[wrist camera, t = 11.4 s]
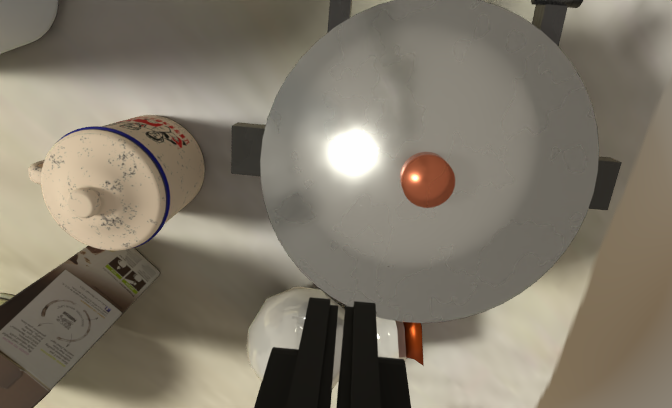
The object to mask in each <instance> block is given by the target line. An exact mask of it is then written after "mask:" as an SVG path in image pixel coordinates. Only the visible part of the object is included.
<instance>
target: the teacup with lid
mask: <svg viewBox="0 0 672 408" xmlns="http://www.w3.org/2000/svg"><path fill="white" fill-rule="evenodd" d="M28 170H29V177H30V179H31V180H32V181H33V182H35V183H38V184H41V189H42V194H43V198H44V201H45V203H46V206H47V208H48V210H49V212H50V213H51V215H52V217H53V218H54V219H55V221H56V222H57V223H58V224H59V226H60V227H61V228H62V229H63V230H64V231H66V232H67V233H68V234H69V235H71V236H72V237H73V238H75V239H76V240H78V241H80V242H82V243H84V244H86V245H88V246H91V247H94V248H98V249H103V250H111V251H119V250H126V249H131V248H135V247H138V246H140V245H143V244H145V243H146V242H148V241H149V240H151V239H152V238H153V237H154V236H155V235H156V234H157V233H158V232H159V231H160V230H161V228H162V227H163V225H164V224H165V223H166V222H167V221H168V220H169V219H171V218H172V217H173V216H174V215H175V214H176V213H178V212H179V211H180V210H181V209H182V208H184V207H185V206H186V205H187V204H188V203H189V202H191V201H192V200H193V199H194V198H195V196H196V195H197V194H198V192H199V190H200V189H201V186H202V184H203V180H204V175H205V165H204V159H203V155H202V152H201V150H200V148H199V146H198V144H197V142H196V141H195V139H194V138H193V137H192V135H191V134H190V133H189V132H188V131H187V130H186V129H185V128H183V127H182V126H181V125H179V124H178V123H176V122H174V121H172V120H170V119H167V118H165V117H161V116H155V115H144V116H139V117H135V118H131V119H128V120H124V121H120V122H117V123H113V124H109V125H106V126H102V127H85V128H81V129H77V130H74V131H72V132H70V133H68V134H66V135H65V136H63V137H62V138H61V139H60V140H58V141H57V142H56V144H55V145H54V146H53V147H52V148H51V150H50V151H49V152H48V154H47V156H46V158H45V160H42V161H39V162H36V163H34V164H32V165H31V166H30V167H29V169H28Z"/></svg>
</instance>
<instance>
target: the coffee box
mask: <svg viewBox="0 0 672 408" xmlns="http://www.w3.org/2000/svg"><path fill="white" fill-rule="evenodd" d="M159 275H160V272H159V271H158V270H157V269H156V268H155V267H154V266H153V265H152V264H151V263H150V262H148V261H147V260H146V259H145V258H144V257H143V256H142V255H141V254H140V253H139V252H138V251H137V250H136V249H135V248H131V249H126V250H119V251H111V250H103V249H98V248H94V247H91V246H87V247H86V248H84V249H83V250H81V251H80V252H78V253H77V254H75V255H74V256H72V257H71V258H70V259H68V260H67V261H65V262H64V263H62V264H61V265H60V266H58V267H57V268H55V269H54V270H52V271H51V272H49V273H48V274H46V275H45V276H43V277H42V278H40V279H39V280H37V281H36V282H34V283H33V284H31V285H30V286H28V287H27V288H25V289H24V290H23V291H21V292H20V293H18V294H17V295H15V296H14V297H12V298H11V299H9V300H8V301H6V302H5V303H3V304H2V305H0V408H33V407H34V406H36V405H37V404H38V403H39V402H40V401H41V400H42V399H43V398H44V397H45V396H46V395H47V394H48V393H49V392H50V391H51V389H52V388H53V387H54V386H55V385H56V384H57V383H58V382H59V381H60V380H61V379H62V378H63V377H64V376H65V374H66V373H67V372H68V371H69V370H70V369H71V368H72V367H73V366H74V365H75V364H76V363H77V362H78V361H79V360H80V359H81V358H82V357H83V356H84V355H85V353H86V352H87V351H88V350H89V349H90V348H91V347H92V346H93V345H94V344H95V343H96V342H97V341H98V340H99V339H100V338H101V336H102V335H103V334H104V333H105V332H106V331H107V330H108V329H109V328H110V327H111V326H112V325H113V324H114V323H115V322H116V321H117V319H118V318H119V317H120V316H121V315H122V314H123V313H124V312H125V311H126V310H127V309H128V308H129V307H130V306H131V305H132V304H133V302H134V301H135V300H136V299H137V298H138V297H139V296H140V295H141V294H142V293H143V292H144V291H145V290H146V289H147V288H148V286H149V285H150V284H151V283H152V282H153V281H154V280H155V279H156V278H157V277H158V276H159Z"/></svg>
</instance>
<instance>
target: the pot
mask: <svg viewBox="0 0 672 408" xmlns="http://www.w3.org/2000/svg"><path fill="white" fill-rule="evenodd" d="M582 2H583V0H531V3H532V4H535V5H536V7H535V11H534V16H533V21H532V24H533V25H534V26H536V27H537V28H538V29H540V30H541V31H542V32H543V33H544V34H546V35H547V36H548V37H549V38H550V39H551V40H552V41H553V42H554V43H555V44H556V45H557V46H559V41H560V37H561V33H562V28H563V24H564V20H565V15H566V11H567V7H570V8H578V7H579V6H580V5H581V3H582ZM351 8H352V0H330V7H329V21H328V32H329V31H331V30H332V29H333V28H334V27H336V26H337V25H339V24H341V23H342V22H344V21H346V20H347V19H349V18H351ZM265 127H266V125H259V124H249V123H236V124H234V125H232V167H231V173H232V174H242V175H252V176H261V167H260V159H261V149H262V139H263V135H264V131H265ZM621 163H622V162H619V161H617V160H614V159H612V158H609V157H599V159H598V173H597V178H596V183H595V188H594V193H593V196H592V199H591V202H590V205H589V209H600V210H608V207H609V203H610V200H611V196H612V193H613V190H614V186H615V183H616V179H617V176H618V173H619V169H620V166H621Z"/></svg>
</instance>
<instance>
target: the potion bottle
mask: <svg viewBox="0 0 672 408" xmlns="http://www.w3.org/2000/svg"><path fill="white" fill-rule="evenodd" d="M310 297H313V298H324V299H331V298H330V297H329V296H328V295H327V294H325V293H324V292H323V291H322V290H321V289H314V288H307V287H300V286H295V287H293V288H290V289H288V290H286V291H283V292H281V293H278V294H276V295H273V296H271V297H269V298H267V299H266V300H265V302H264V304H263V305H262V307H261V309H260V310H259V312H258V314H257V315H256V317H255V319H254V320H253V322H252V324H251V325H250V327H249V329H248V336H247V343H246V351H247V355H248V359H249V362H250V366H251V368H252V369H253V371H254V372H255V374H256V375H257V377H258V378H259V379H260V380H261V381H262V380H263V376H264V373H265V370H266V366H267V363H268V359H269V356H270V353H271V350H272V348H273V347H278V348H289V349H299V345H300V340H301V335H302V331H303V326H304V321H305V316H306V311H307V307H308V302H309V298H310ZM330 305H338V318H337V331H336V343H335V355H334V368H333V380H332V389H333V388H334V386H335V385H336V384H337V382H338V381H339V373H340V361H341V350H342V338H343V327H344V315H345V309H343V308H342V307H341V306H340V305H339V304H337V303H336V302H335V301H334V300H333V299H331V303H330ZM376 323H377V343H378V357H387V358H398V359H404V361H405V360H406V358H411V359H415V360H416V361H417V362H419V363H420V364H422V365H423V346H422V326H421V323H412V322H400V321H394V320H388V319H383V318H379V317H376Z"/></svg>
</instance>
